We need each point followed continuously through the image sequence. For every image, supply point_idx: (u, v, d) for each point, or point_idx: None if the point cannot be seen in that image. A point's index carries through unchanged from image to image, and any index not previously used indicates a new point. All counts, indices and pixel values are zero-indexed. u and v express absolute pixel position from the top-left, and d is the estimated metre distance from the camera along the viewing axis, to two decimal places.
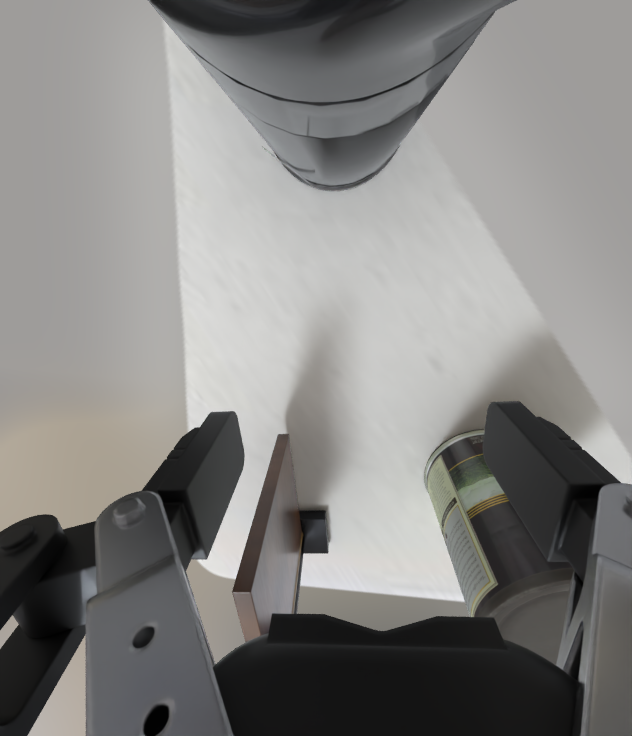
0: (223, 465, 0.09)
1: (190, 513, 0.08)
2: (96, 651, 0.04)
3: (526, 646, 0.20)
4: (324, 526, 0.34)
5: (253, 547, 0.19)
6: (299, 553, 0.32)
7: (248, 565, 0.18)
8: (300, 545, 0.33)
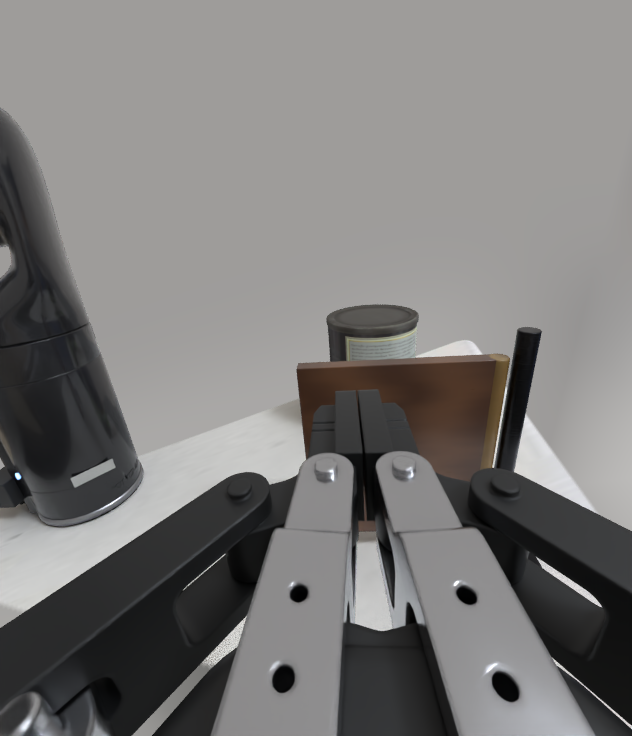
0: None
1: (359, 476, 0.08)
2: (266, 577, 0.05)
3: (382, 320, 0.35)
4: None
5: None
6: None
7: None
8: None
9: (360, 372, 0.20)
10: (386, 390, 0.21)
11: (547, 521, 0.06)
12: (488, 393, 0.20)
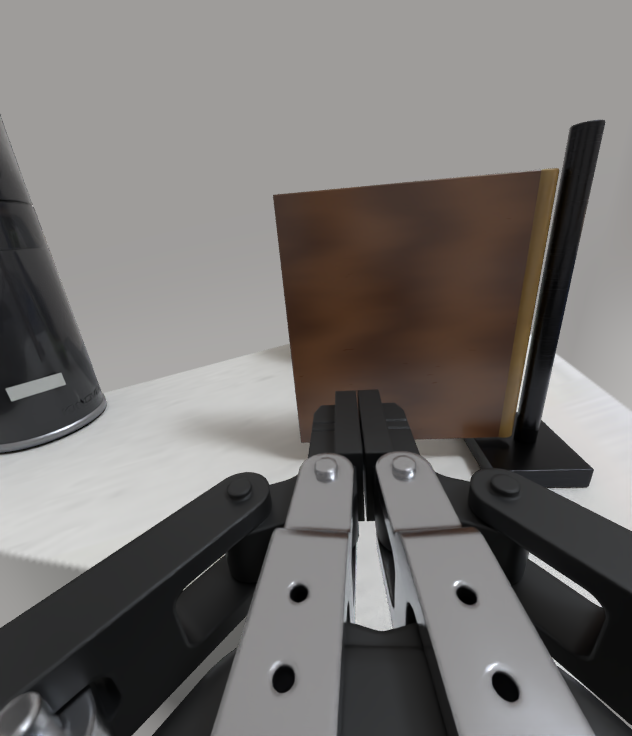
0: None
1: (359, 476, 0.08)
2: (266, 577, 0.05)
3: None
4: None
5: None
6: None
7: None
8: None
9: (358, 197, 0.15)
10: (392, 224, 0.16)
11: (547, 521, 0.06)
12: (528, 224, 0.15)
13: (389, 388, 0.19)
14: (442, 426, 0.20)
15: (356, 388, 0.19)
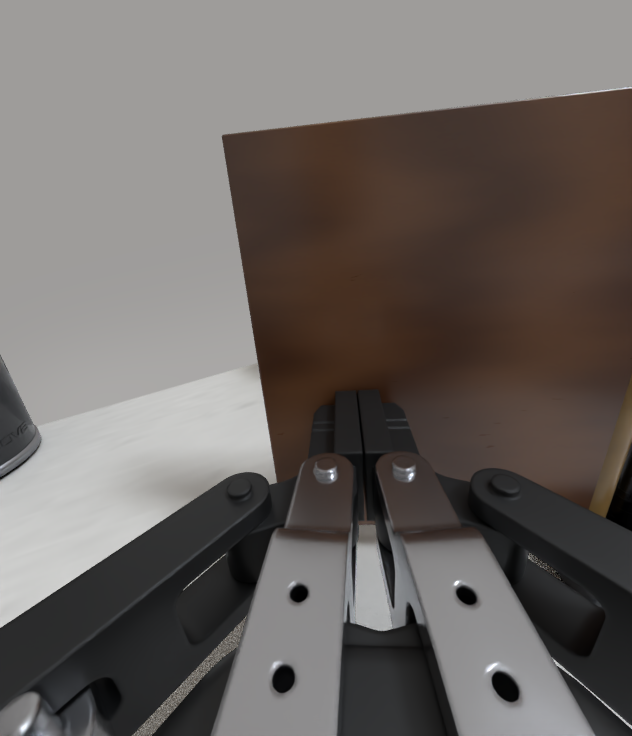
0: None
1: (359, 476, 0.08)
2: (266, 577, 0.05)
3: None
4: None
5: None
6: None
7: None
8: None
9: (373, 136, 0.08)
10: (434, 188, 0.09)
11: (547, 521, 0.06)
12: None
13: None
14: None
15: None
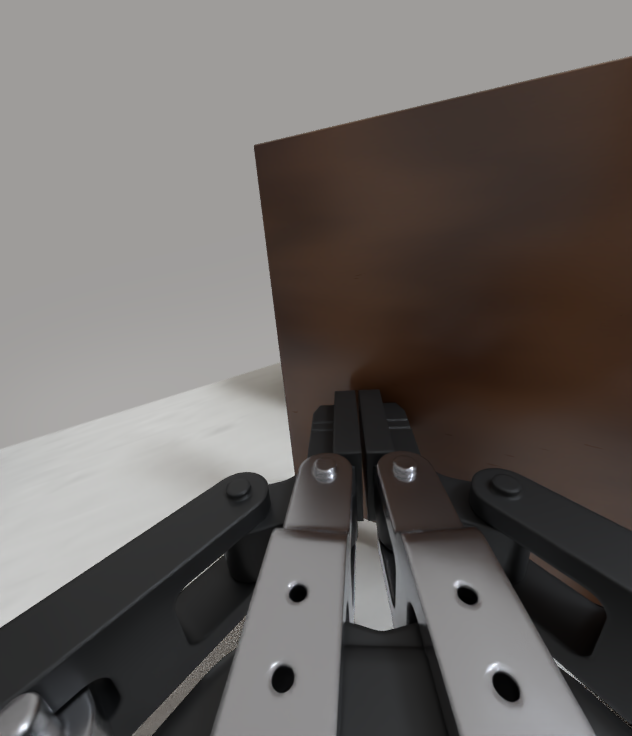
0: None
1: (358, 476, 0.08)
2: (265, 577, 0.05)
3: None
4: None
5: None
6: None
7: None
8: None
9: (377, 135, 0.08)
10: (439, 186, 0.08)
11: (548, 521, 0.06)
12: None
13: None
14: None
15: None
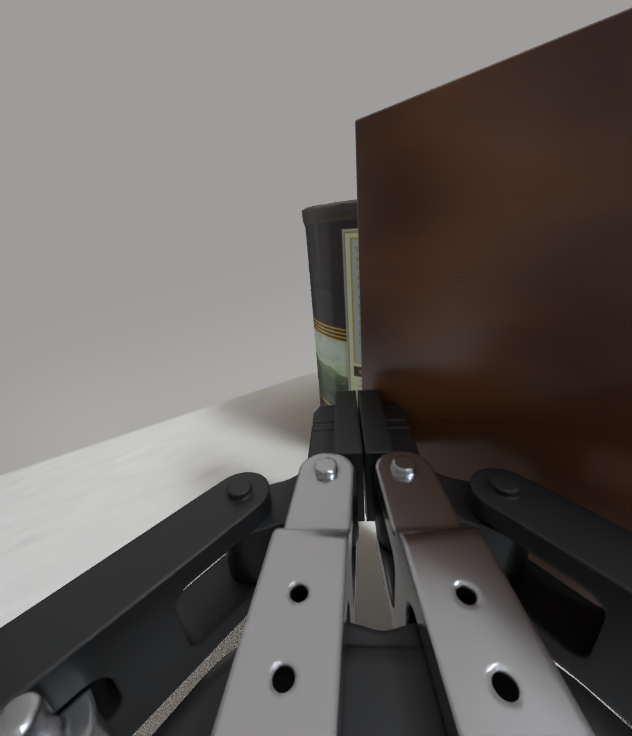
0: None
1: (359, 476, 0.08)
2: (266, 577, 0.05)
3: None
4: None
5: None
6: None
7: None
8: None
9: (511, 83, 0.06)
10: (604, 148, 0.05)
11: (547, 521, 0.06)
12: None
13: None
14: None
15: None
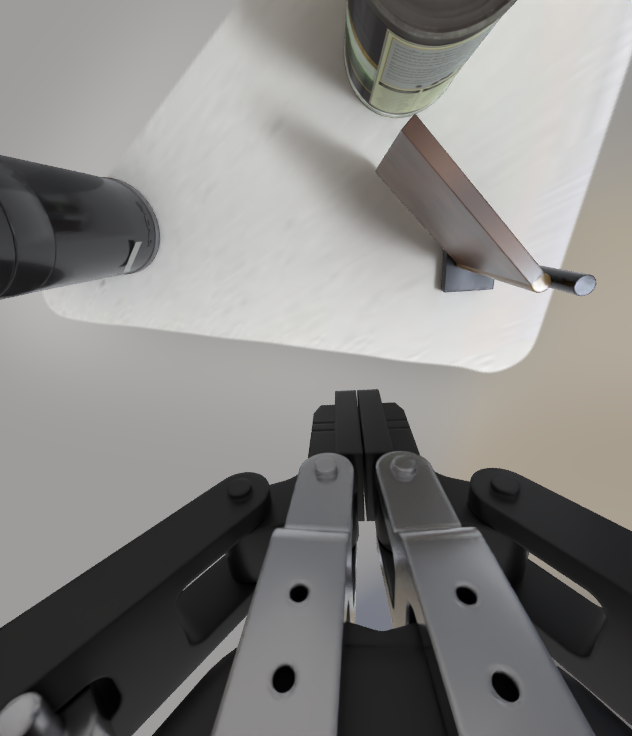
0: None
1: (359, 476, 0.08)
2: (266, 577, 0.05)
3: None
4: None
5: None
6: None
7: None
8: None
9: (445, 187, 0.19)
10: (455, 209, 0.21)
11: (547, 521, 0.06)
12: (511, 278, 0.22)
13: (422, 214, 0.29)
14: (437, 239, 0.32)
15: (408, 197, 0.28)
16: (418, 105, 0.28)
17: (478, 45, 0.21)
